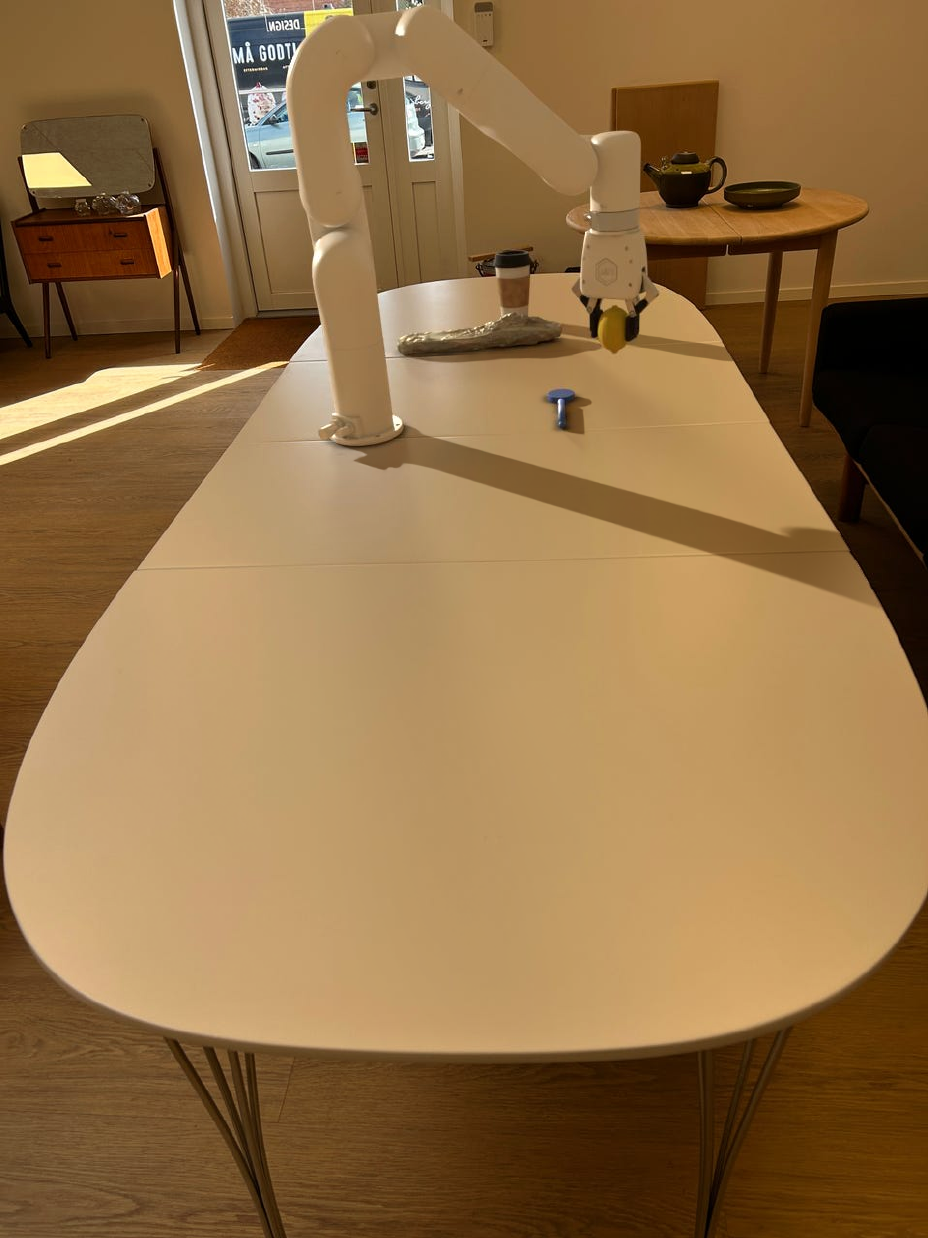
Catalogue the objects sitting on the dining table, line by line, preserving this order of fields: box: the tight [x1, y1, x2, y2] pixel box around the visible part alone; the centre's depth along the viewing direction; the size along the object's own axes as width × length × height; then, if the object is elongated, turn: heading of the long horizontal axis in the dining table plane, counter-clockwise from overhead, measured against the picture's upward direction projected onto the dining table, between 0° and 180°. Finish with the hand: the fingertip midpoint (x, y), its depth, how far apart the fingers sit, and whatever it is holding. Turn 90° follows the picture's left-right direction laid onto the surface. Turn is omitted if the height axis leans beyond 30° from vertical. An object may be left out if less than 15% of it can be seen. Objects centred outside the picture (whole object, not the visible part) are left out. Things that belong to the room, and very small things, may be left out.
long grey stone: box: [396, 312, 563, 356], centre depth 197 cm, size 35×5×10 cm
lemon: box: [597, 304, 629, 355], centre depth 154 cm, size 6×6×8 cm
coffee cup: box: [493, 249, 532, 317], centre depth 208 cm, size 8×8×15 cm
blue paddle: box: [547, 388, 576, 430], centre depth 160 cm, size 18×5×1 cm, turn 176°
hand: (614, 336), depth 154 cm, fingers closed on lemon, 5 cm apart
